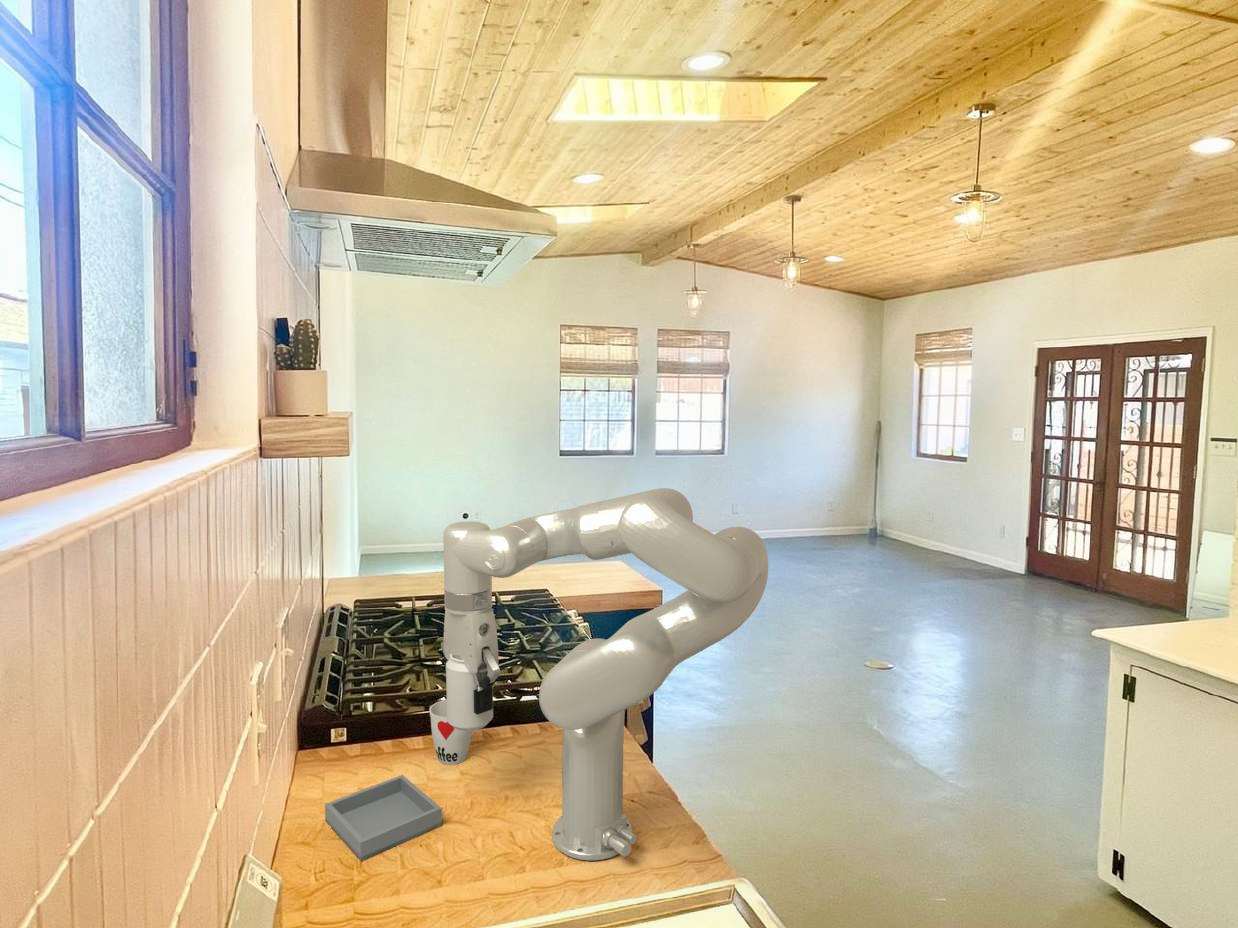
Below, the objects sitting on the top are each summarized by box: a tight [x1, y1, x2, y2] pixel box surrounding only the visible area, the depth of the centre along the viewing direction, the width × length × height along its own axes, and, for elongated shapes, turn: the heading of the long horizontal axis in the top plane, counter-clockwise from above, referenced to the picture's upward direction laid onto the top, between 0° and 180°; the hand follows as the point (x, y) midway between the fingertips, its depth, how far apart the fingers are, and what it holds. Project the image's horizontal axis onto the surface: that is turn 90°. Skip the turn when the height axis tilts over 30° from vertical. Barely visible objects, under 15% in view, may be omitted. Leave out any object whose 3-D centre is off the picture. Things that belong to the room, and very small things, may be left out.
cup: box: [429, 699, 473, 766], centre depth 142 cm, size 8×8×10 cm
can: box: [445, 654, 494, 732], centre depth 123 cm, size 8×8×12 cm
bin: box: [324, 774, 443, 862], centre depth 121 cm, size 14×14×3 cm
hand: (469, 702), depth 123 cm, fingers closed on can, 7 cm apart
